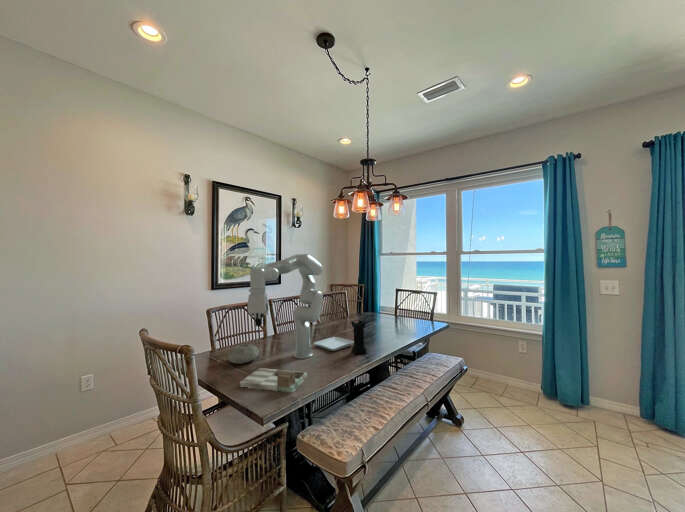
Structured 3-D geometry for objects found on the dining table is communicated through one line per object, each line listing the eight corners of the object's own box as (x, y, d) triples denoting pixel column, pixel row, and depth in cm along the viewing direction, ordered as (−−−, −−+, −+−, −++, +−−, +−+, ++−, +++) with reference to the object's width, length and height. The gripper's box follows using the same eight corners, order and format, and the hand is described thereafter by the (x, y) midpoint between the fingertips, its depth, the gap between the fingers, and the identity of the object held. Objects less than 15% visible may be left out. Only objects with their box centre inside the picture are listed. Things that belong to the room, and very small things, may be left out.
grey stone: (245, 354, 186) (245, 339, 186) (265, 359, 176) (264, 343, 177) (221, 363, 170) (221, 347, 170) (241, 369, 161) (241, 351, 161)
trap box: (259, 372, 156) (259, 367, 156) (307, 376, 149) (307, 372, 149) (240, 387, 138) (239, 382, 139) (292, 393, 131) (292, 387, 131)
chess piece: (367, 353, 182) (366, 322, 182) (356, 355, 179) (355, 324, 179) (362, 350, 189) (361, 320, 189) (351, 351, 186) (350, 321, 186)
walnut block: (284, 380, 139) (284, 370, 139) (295, 382, 137) (294, 371, 137) (277, 386, 133) (277, 375, 133) (288, 387, 131) (288, 377, 131)
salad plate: (312, 347, 199) (312, 342, 199) (335, 340, 214) (334, 335, 214) (333, 354, 184) (333, 348, 184) (355, 346, 199) (355, 341, 199)
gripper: (241, 292, 149) (242, 326, 149) (266, 292, 145) (267, 328, 145) (249, 290, 156) (250, 323, 156) (274, 290, 152) (274, 324, 152)
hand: (258, 325), depth 150 cm, fingers closed
